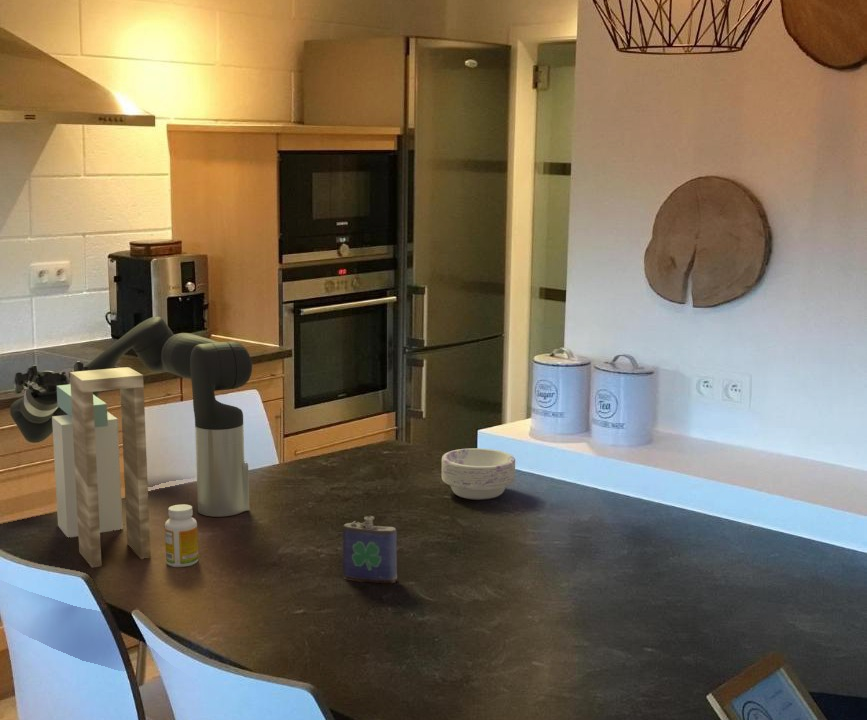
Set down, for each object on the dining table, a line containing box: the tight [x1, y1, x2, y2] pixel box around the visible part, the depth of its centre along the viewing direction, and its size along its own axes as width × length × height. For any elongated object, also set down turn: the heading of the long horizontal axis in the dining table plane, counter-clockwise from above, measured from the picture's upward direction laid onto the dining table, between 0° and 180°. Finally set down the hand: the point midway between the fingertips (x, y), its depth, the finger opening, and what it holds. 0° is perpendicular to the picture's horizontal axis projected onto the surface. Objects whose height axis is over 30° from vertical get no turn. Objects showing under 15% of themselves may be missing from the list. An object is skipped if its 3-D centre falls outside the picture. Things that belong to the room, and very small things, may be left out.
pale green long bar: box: [57, 385, 108, 427], centre depth 209 cm, size 4×22×4 cm, turn 30°
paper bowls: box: [441, 447, 516, 501], centre depth 233 cm, size 15×15×8 cm
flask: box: [342, 515, 398, 584], centre depth 184 cm, size 9×3×11 cm, turn 74°
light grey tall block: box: [52, 411, 124, 539], centre depth 210 cm, size 10×8×21 cm
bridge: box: [70, 366, 152, 569], centre depth 194 cm, size 10×9×32 cm
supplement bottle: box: [164, 503, 199, 568], centre depth 192 cm, size 5×5×10 cm
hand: (57, 367), depth 224 cm, fingers open, 8 cm apart
